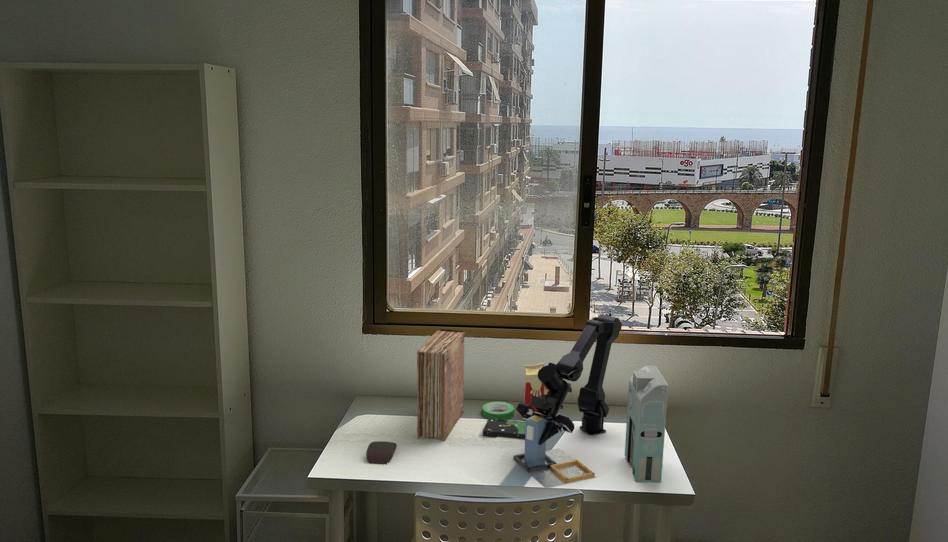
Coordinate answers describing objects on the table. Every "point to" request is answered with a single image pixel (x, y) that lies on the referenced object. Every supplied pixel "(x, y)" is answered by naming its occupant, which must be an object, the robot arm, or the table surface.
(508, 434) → the disk drive
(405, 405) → the table surface
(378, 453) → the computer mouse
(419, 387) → the book
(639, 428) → the device
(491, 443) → the table surface
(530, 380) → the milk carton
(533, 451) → the plug
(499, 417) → the tape roll
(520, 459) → the panel
